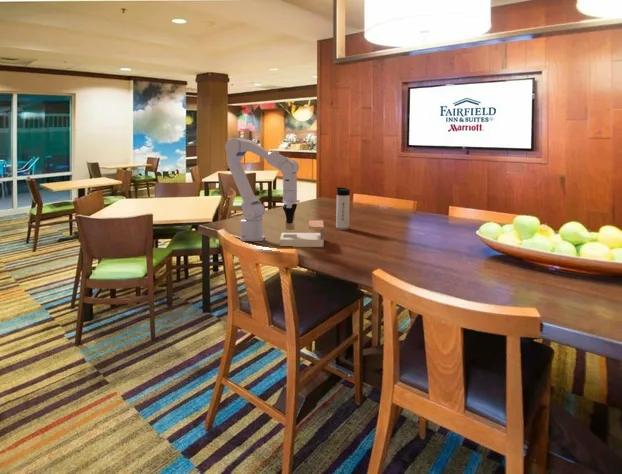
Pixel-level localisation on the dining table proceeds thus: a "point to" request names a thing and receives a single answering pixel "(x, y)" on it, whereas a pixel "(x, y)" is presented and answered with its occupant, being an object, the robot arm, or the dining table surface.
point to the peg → (291, 224)
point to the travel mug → (342, 208)
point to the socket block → (304, 237)
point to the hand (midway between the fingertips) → (290, 222)
